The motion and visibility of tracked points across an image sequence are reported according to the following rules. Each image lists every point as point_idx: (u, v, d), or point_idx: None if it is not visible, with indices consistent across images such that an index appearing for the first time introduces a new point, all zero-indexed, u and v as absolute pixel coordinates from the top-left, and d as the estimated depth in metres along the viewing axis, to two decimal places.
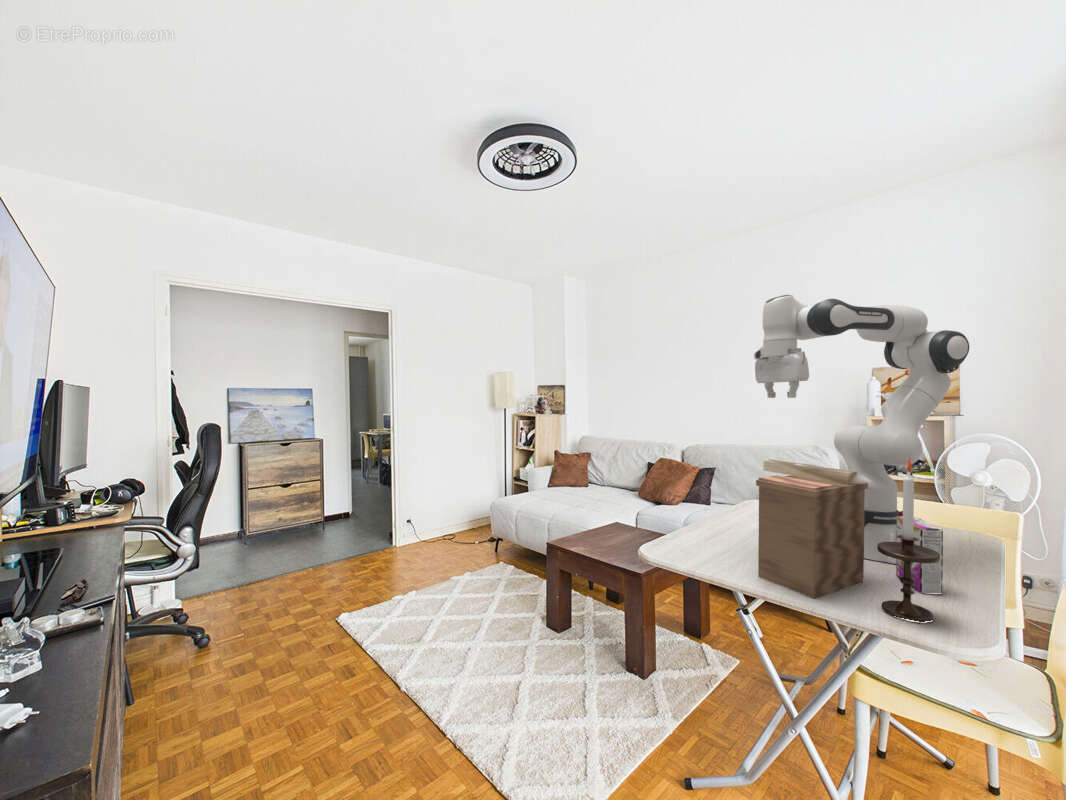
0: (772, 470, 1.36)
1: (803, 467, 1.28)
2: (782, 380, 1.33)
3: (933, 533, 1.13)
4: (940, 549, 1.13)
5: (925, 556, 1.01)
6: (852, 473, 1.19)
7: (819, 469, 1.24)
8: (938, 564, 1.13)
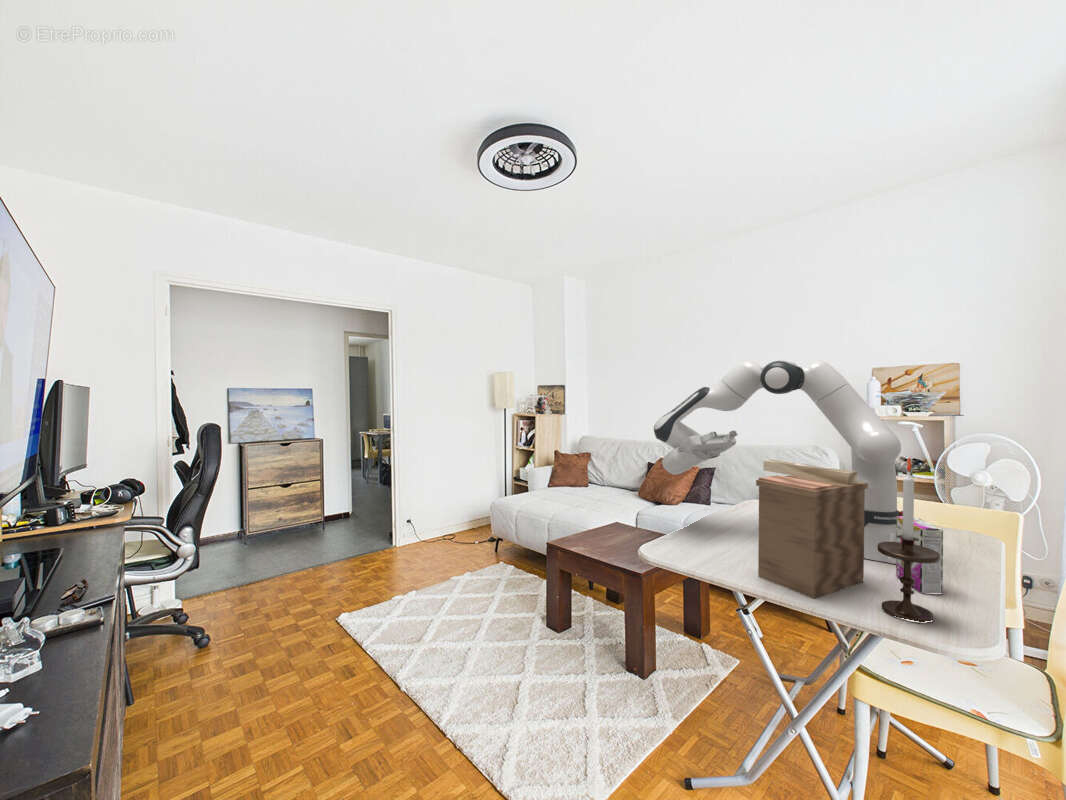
0: (772, 470, 1.36)
1: (803, 467, 1.28)
2: (709, 444, 1.53)
3: (933, 533, 1.13)
4: (940, 549, 1.13)
5: (925, 556, 1.01)
6: (852, 473, 1.19)
7: (819, 469, 1.24)
8: (938, 564, 1.13)
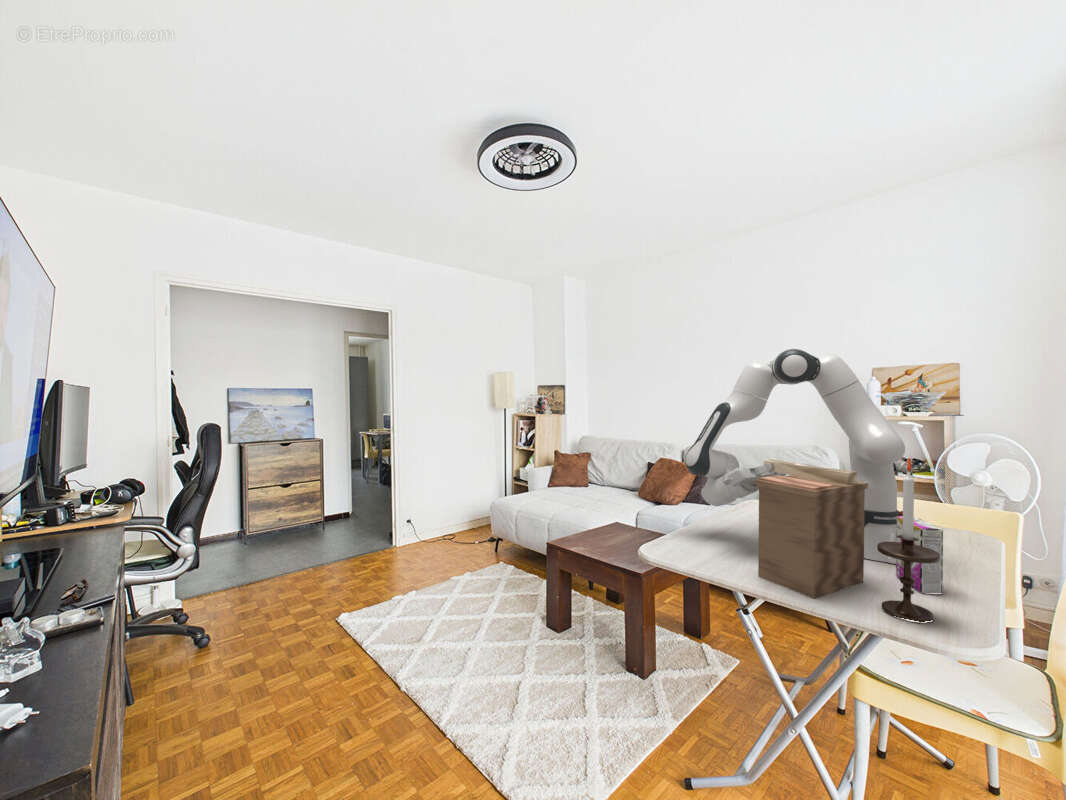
0: (772, 470, 1.36)
1: (803, 467, 1.28)
2: (759, 477, 1.39)
3: (933, 533, 1.13)
4: (940, 549, 1.13)
5: (925, 556, 1.01)
6: (852, 473, 1.18)
7: (819, 469, 1.24)
8: (938, 564, 1.13)
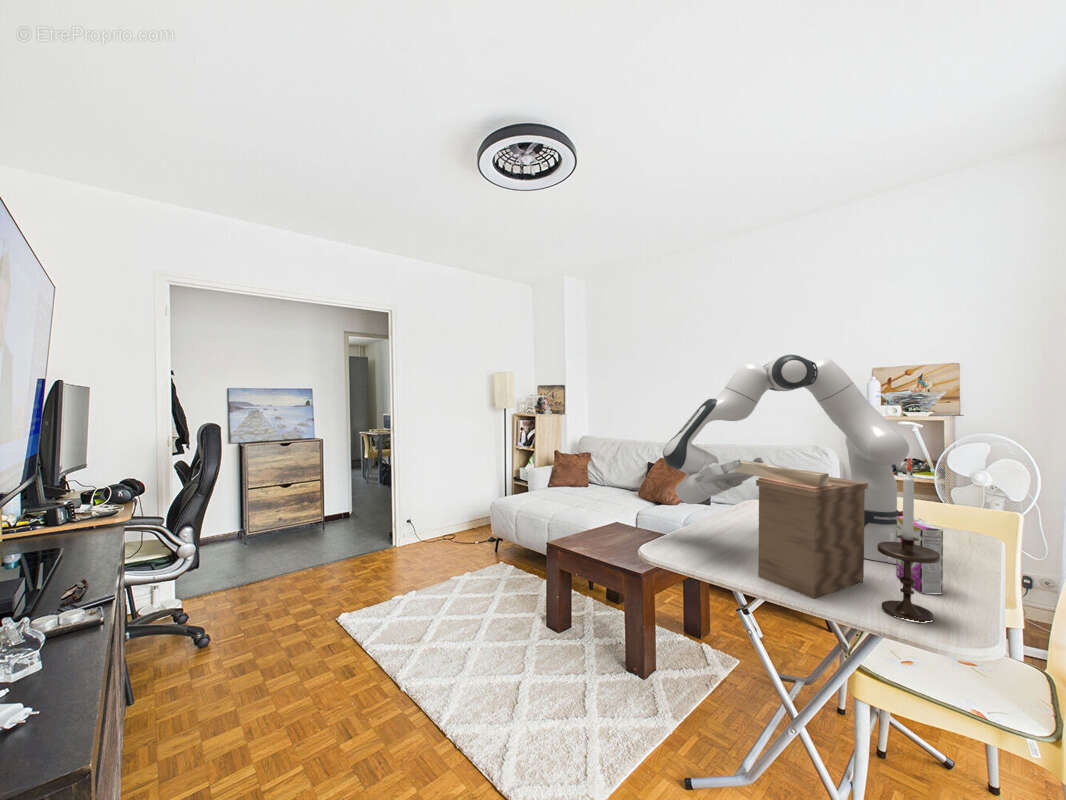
0: (744, 472, 1.31)
1: (774, 469, 1.23)
2: (731, 474, 1.33)
3: (933, 533, 1.13)
4: (940, 549, 1.13)
5: (925, 556, 1.01)
6: (823, 475, 1.13)
7: (790, 471, 1.19)
8: (938, 564, 1.13)
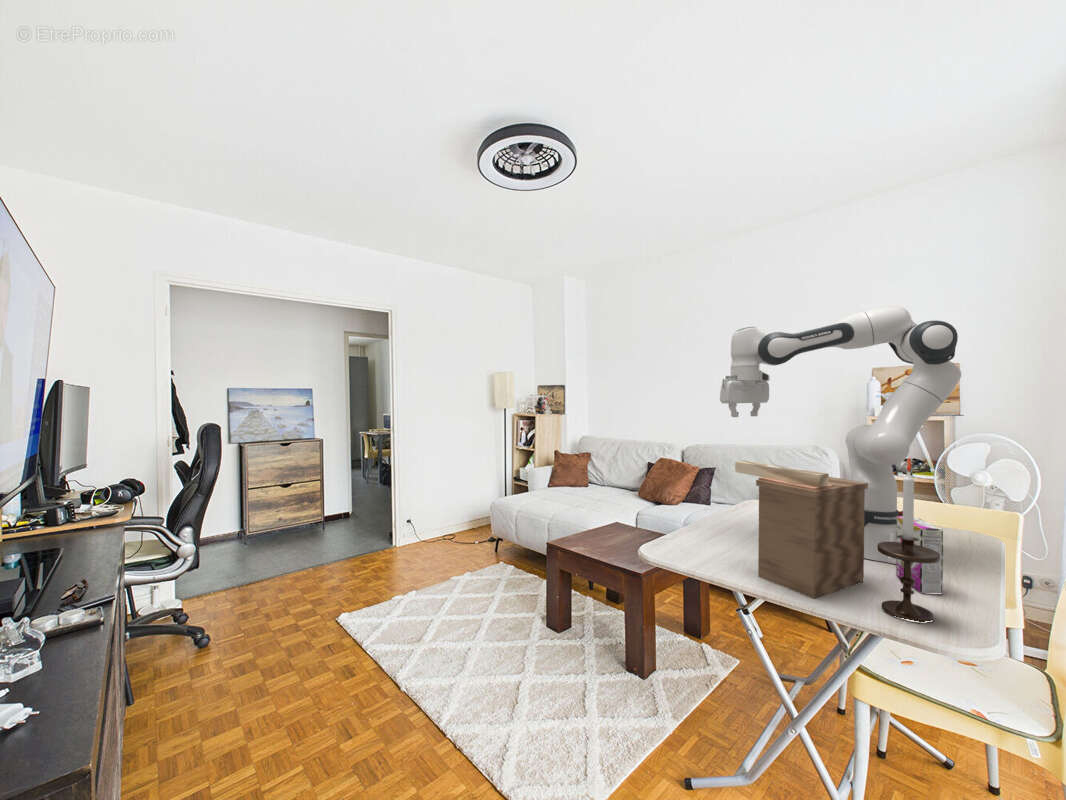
0: (744, 472, 1.31)
1: (774, 469, 1.23)
2: None
3: (933, 533, 1.13)
4: (940, 549, 1.13)
5: (925, 556, 1.01)
6: (823, 475, 1.13)
7: (790, 471, 1.19)
8: (938, 564, 1.13)
